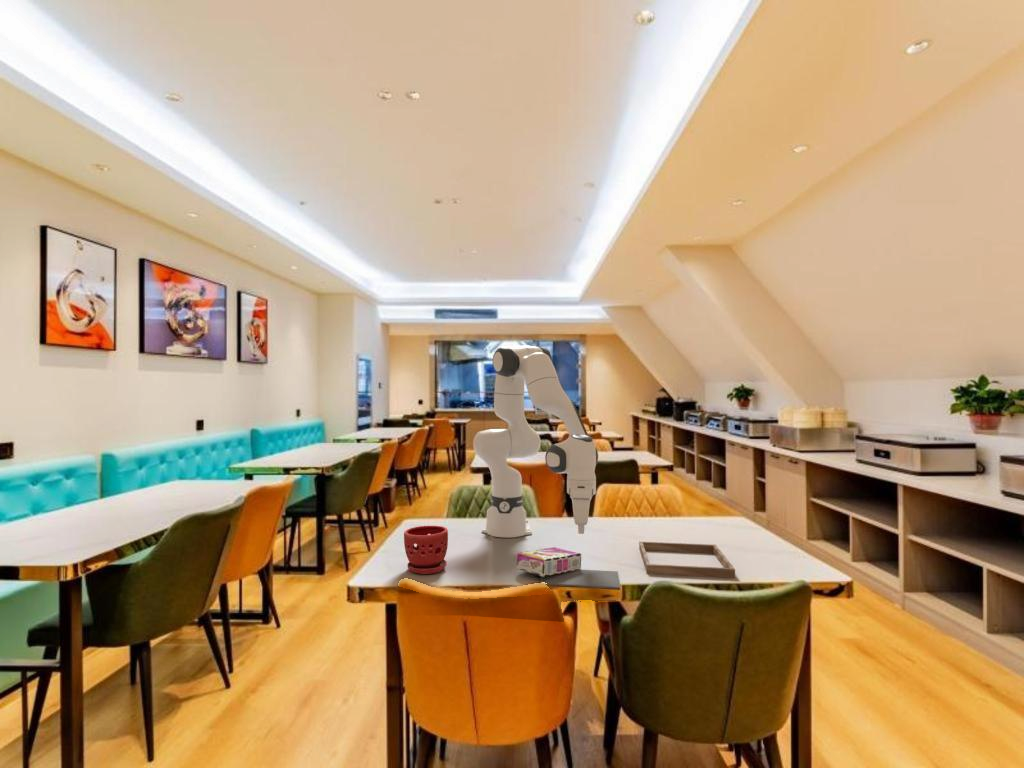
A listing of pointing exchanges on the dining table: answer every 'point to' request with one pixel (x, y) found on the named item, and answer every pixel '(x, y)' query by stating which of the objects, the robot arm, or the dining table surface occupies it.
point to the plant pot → (426, 548)
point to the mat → (584, 579)
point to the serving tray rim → (686, 570)
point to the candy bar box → (548, 561)
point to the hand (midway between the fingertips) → (581, 532)
